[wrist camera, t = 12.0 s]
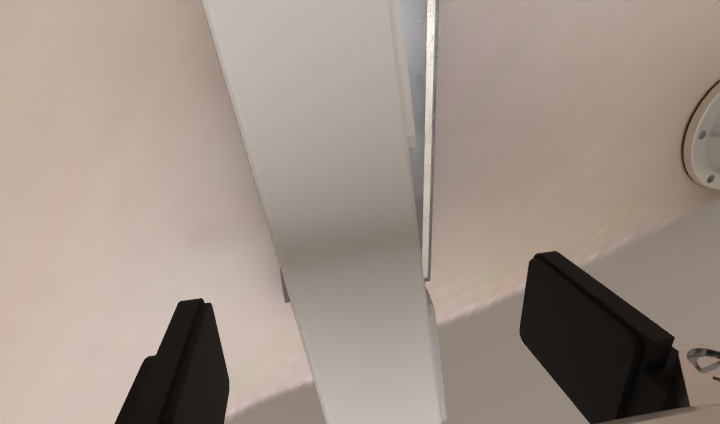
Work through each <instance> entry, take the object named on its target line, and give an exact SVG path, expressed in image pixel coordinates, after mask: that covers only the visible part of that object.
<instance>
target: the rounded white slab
mask: <svg viewBox="0 0 720 424" xmlns="http://www.w3.org/2000/svg"><path fill="white" fill-rule="evenodd" d="M201 2H202V5H203V8H204V12H205V15H206V18H207V22H208V25H209V29H210V32H211V35H212V39H213V42H214V45H215V49H216V52H217V56H218V59H219V62H220V66H221V69H222V72H223V76H224V79H225V83H226V86H227V89H228V93H229V96H230V99H231V103H232V106H233V110H234V113H235V116H236V120H237V123H238V126H239V130H240V133H241V137H242V140H243V143H244V147H245V150H246V153H247V157H248V160H249V164H250V167H251V170H252V174H253V177H254V180H255V184H256V187H257V191H258V194H259V197H260V201H261V204H262V207H263V211H264V214H265V218H266V221H267V224H268V228H269V231H270V234H271V238H272V241H273V245H274V248H275V251H276V255H277V258H278V261H279V265H280V268H281V272H282V275H283V278H284V282H285V285H286V288H287V292H288V295H289V299H290V302H291V305H292V309H293V312H294V315H295V319H296V322H297V326H298V329H299V332H300V336H301V339H302V342H303V346H304V349H305V353H306V356H307V359H308V363H309V366H310V369H311V373H312V376H313V380H314V383H315V386H316V390H317V393H318V396H319V400H320V403H321V406H322V410H323V413H324V417H325V420H326V423H327V424H442V423H441V421H444V420H446V418H447V415H446V406H445V398H444V388H443V379H442V372H441V361H440V352H439V345H438V335H437V326H436V317H435V311H434V306H433V303H432V300H431V298H430V295H429V293H428V291H427V289H426V287H425V282H424V274H423V265H422V257H421V249H420V240H419V232H418V224H417V216H416V207H415V199H414V191H413V182H412V174H411V166H410V157H409V152H411V151H412V150H413V149H414V147H415V137H416V136H415V127H414V118H413V109H412V100H411V91H410V82H409V73H408V64H407V55H406V46H405V37H404V28H403V19H402V10H401V1H400V0H201Z"/></svg>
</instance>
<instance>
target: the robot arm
mask: <svg viewBox="0 0 720 424" xmlns="http://www.w3.org/2000/svg"><path fill="white" fill-rule="evenodd" d="M684 163H685V167H686V170H687V172H688V174H689V176H690V177H691V178H692V179H693V180H694V181H695V182H696V183H698V184H700V185H702V186H704V187H708V188H711V189H715V190H720V82H719V83H718V84H717V85H716V86H715V87H714V88H713V89H712V90H711V91H710V92H709V94H708V95H707V96H706V97H705V98H704V100H703V101H702V102H701V104H700V106H699V107H698V109H697V110H696V112H695V114H694V116H693V118H692V120H691V122H690V124H689V127H688V130H687V133H686V136H685V142H684ZM520 336H521V339H522V341H523V342H524V344H525V345H526V346H527V347H528V349H529V350H530V351H531V352H532V354H533V355H534V356H535V357H536V358H537V360H538V361H539V362H540V363H541V364H542V366H543V367H544V368H545V369H546V370H547V372H548V373H549V374H550V375H551V376H552V378H553V379H554V380H555V381H556V383H557V384H558V385H559V386H560V388H561V389H562V390H563V391H564V392H565V394H566V395H567V396H568V397H569V398H570V400H571V401H572V402H573V403H574V405H576V407H577V408H578V409H579V411H580V412H581V413H582V414H583V415H584V417H585V418H586V419H587V420H588V422H589V423H590V424H720V348H716V347H713V346H709V345H704V344H688V345H684V346H682V347H681V348H680V349H679V351H677V350H676V349H674V348H673V347H672V344H673V341H674V336H672V335H671V334H669V333H668V332H667V331H665V330H664V329H662V328H661V327H660V326H658V325H657V324H656V323H654V322H653V321H652V320H650V319H649V318H648V317H646V316H645V315H643V314H642V313H640V312H639V311H638V310H637V309H635V308H634V307H632V306H631V305H630V304H628V303H627V302H626V301H624V300H623V299H622V298H620V297H619V296H617V295H616V294H615V293H613V292H612V291H611V290H609V289H608V288H606V287H605V286H604V285H602V284H601V283H600V282H598V281H597V280H595V279H594V278H593V277H591V276H590V275H589V274H587V273H586V272H585V271H583V270H582V269H580V268H579V267H578V266H576V265H575V264H574V263H572V262H571V261H569V260H568V259H567V258H565V257H564V256H563V255H561V254H560V253H558V252H556V251H552V252H545V253H537V254H536V255H535V256H534V258H533V259H531V260H530V262H529V267H528V274H527V281H526V288H525V295H524V302H523V309H522V316H521V323H520ZM228 395H229V377H228V372H227V368H226V364H225V359H224V355H223V351H222V346H221V342H220V338H219V333H218V329H217V325H216V320H215V316H214V311H213V307H212V304H211V303H204V300H203V299H202V298H201V299H193V300H186V301H180V302H179V303H178V305H177V307H176V310H175V312H174V314H173V317H172V319H171V321H170V324H169V326H168V328H167V331H166V333H165V335H164V338H163V340H162V342H161V345H160V347H159V349H158V352H157V354H156V355H155V356H148V357H147V358H146V359H145V360H144V362H143V363H142V365H141V367H140V370H139V372H138V374H137V376H136V378H135V380H134V383H133V385H132V387H131V389H130V391H129V393H128V396H127V398H126V400H125V402H124V404H123V407H122V409H121V411H120V413H119V415H118V417H117V420H116V422H115V424H224V419H225V413H226V407H227V401H228Z"/></svg>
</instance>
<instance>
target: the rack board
mask: <svg viewBox="0 0 720 424" xmlns="http://www.w3.org/2000/svg"><path fill="white" fill-rule="evenodd" d="M400 1H401V10H402V19H403V28H404V37H405V46H406V55H407V64H408V73H409V82H410V91H411V100H412V109H413V118H414V127H415V136H416V137H415V147H414V149H413V150H412V151H411V152H409V157H410V166H411V174H412V182H413V191H414V199H415V207H416V216H417V224H418V232H419V240H420V249H421V257H422V265H423V274H424V282H426V281H430V268H431V236H432V204H433V172H434V139H435V107H436V75H437V43H438V10H439V0H400ZM280 270H281V268H280ZM281 277H282V284H283V291H284V298H285V303H287V302H290V299H289V295H288V292H287V288H286V285H285V282H284V278H283V275H282V272H281Z"/></svg>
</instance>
